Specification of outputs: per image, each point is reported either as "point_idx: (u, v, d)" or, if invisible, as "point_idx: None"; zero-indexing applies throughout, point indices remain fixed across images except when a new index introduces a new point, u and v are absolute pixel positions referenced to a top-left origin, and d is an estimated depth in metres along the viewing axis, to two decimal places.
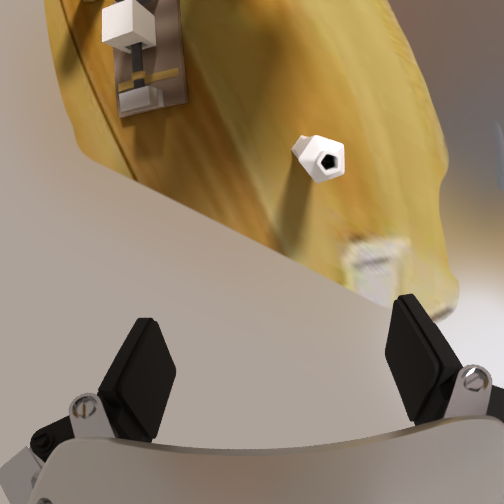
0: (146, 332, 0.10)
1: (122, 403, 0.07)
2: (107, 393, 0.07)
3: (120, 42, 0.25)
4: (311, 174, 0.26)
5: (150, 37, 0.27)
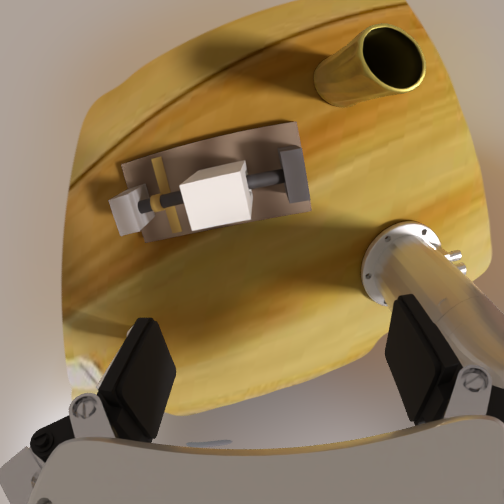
0: (146, 332, 0.10)
1: (122, 403, 0.07)
2: (107, 393, 0.07)
3: None
4: (98, 386, 0.31)
5: None
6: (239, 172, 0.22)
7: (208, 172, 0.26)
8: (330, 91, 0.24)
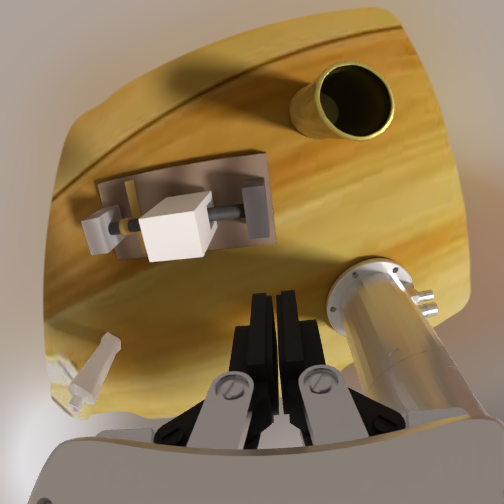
0: (269, 306, 0.10)
1: (268, 376, 0.08)
2: (257, 367, 0.08)
3: None
4: (69, 387, 0.31)
5: None
6: (193, 211, 0.23)
7: (171, 204, 0.26)
8: (301, 125, 0.25)
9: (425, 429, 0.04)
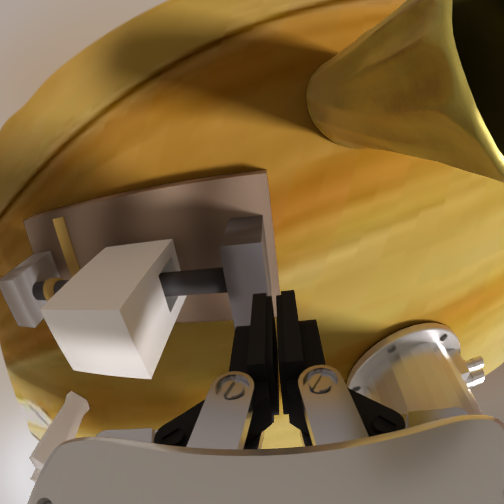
0: (269, 306, 0.10)
1: (268, 376, 0.08)
2: (258, 367, 0.08)
3: None
4: (31, 459, 0.19)
5: None
6: (119, 310, 0.10)
7: (100, 271, 0.14)
8: (334, 124, 0.13)
9: (425, 429, 0.04)
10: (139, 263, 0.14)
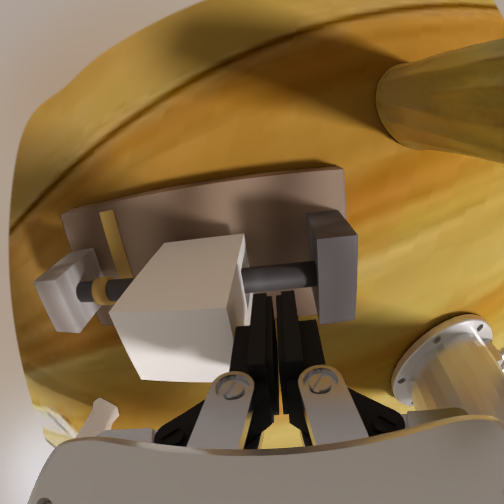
0: (269, 306, 0.10)
1: (268, 376, 0.08)
2: (258, 367, 0.08)
3: None
4: None
5: None
6: (224, 308, 0.10)
7: (172, 267, 0.14)
8: (414, 126, 0.12)
9: (425, 429, 0.04)
10: (220, 258, 0.14)
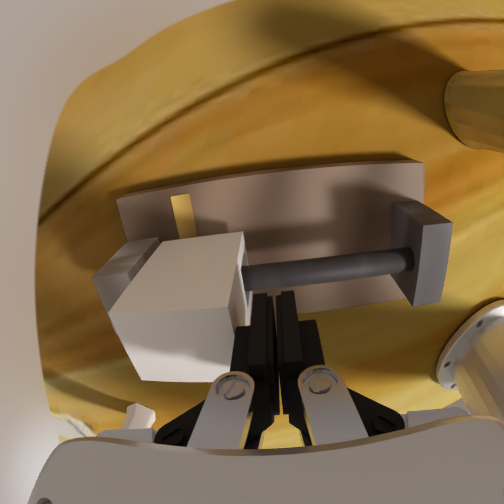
0: (269, 306, 0.10)
1: (268, 376, 0.08)
2: (258, 367, 0.08)
3: None
4: None
5: None
6: (226, 307, 0.10)
7: (172, 266, 0.14)
8: (487, 130, 0.12)
9: (425, 429, 0.04)
10: (219, 256, 0.14)
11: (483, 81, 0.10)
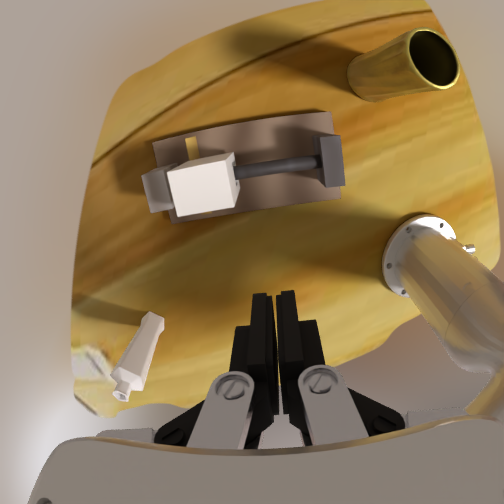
0: (269, 306, 0.10)
1: (268, 376, 0.08)
2: (257, 367, 0.08)
3: None
4: (113, 373, 0.30)
5: None
6: (224, 161, 0.22)
7: (196, 162, 0.26)
8: (366, 85, 0.24)
9: (425, 429, 0.04)
10: (221, 156, 0.26)
11: (362, 58, 0.23)
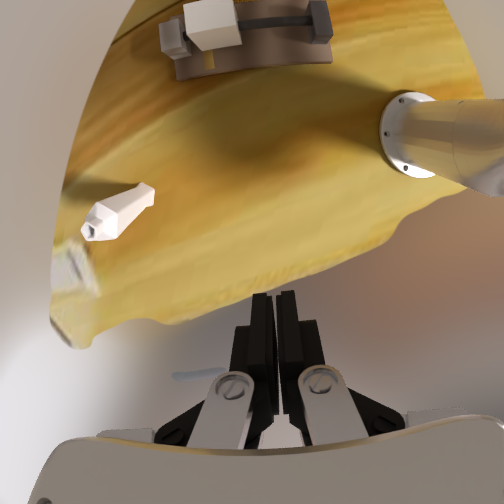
0: (269, 306, 0.10)
1: (268, 376, 0.08)
2: (258, 367, 0.08)
3: None
4: (88, 214, 0.28)
5: (204, 46, 0.27)
6: None
7: None
8: None
9: (425, 429, 0.04)
10: None
11: None
